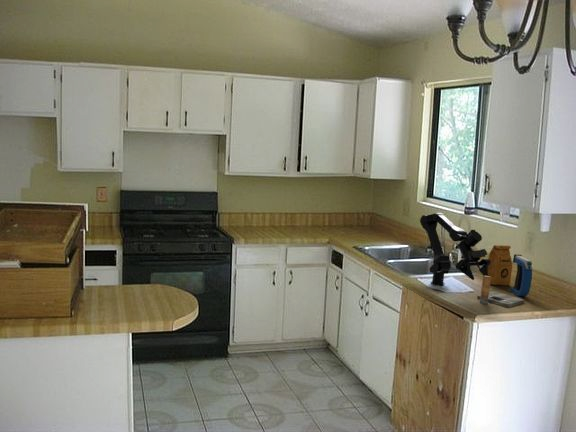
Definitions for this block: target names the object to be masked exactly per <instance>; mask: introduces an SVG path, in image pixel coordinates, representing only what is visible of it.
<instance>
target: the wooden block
mask: <svg viewBox="0 0 576 432" xmlns="http://www.w3.org/2000/svg"><path fill="white" fill-rule="evenodd" d="M490 283H491V277H490V276H483V275H482V283H481V290H480V295H481V297H480V299H479V303H480V304H482V305H488V303H489V302H488V297H489V293H490V288H491V284H490Z"/></svg>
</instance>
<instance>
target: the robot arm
mask: <svg viewBox="0 0 576 432" xmlns="http://www.w3.org/2000/svg"><path fill="white" fill-rule="evenodd" d="M419 223H420V226H421V227H422V228H423V230H425V232H426V234H427V236H428V241H429V242H430V243H429V244H430V246H431V250H432V252H433V260H432V261H433V262H432V263H433V264H432V265H431V266H430V267H429V272H430V273H431V274H432V280H431V282H430V285H434V286H440V287H443V286H445V282H444V280H445V274H449V273H450V270H451V266H452V264H451V263H452V261H451V259H450V256H449V255H446V254H445V253H444V250H443V247H442V244H441V241H440V238H439V235H438V231H437V226H438V224H439V225H440V226H441V227H442V228H443V229H444V230H445V231H446V232H448V236H449V237H450V239H451V240H452V241H453V242H457V243H456V244H455V247H454V249H455V250H459V251H460V254H461V257H460V258H461V259H460V260H459V261H458V262H456V264H455V269H456V271H459V272H461V273H463V274H464V275H465V276H466V277H468V278H469V279H470V280H472V281H474V280H475V276H474V274H473V272H472V270H471V267H477V268H478V271H479V273H481V274H482V277H483V276H488V266H489V265H490V264H491V261H490V259H488V258H485V257H486V256H487V255H488V252H487V250H486V248H482V249H479V250H473V247H475V246H476V245H477V244H479V243H480V242H481V241H482V240H483V236H482V235H481V233H479V232H478V231H476V229H470V231H469V232H468V231H466V230H464V229H463V228H461V227H458V226H456V225H455V224H454V223H453V222H452V221H451V220H450V219H448V217H446V216H445V214H444V213H442V212H435V213H431V214H422V215H421V217H420V219H419ZM481 258H482V259H481Z"/></svg>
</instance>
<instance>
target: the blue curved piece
mask: <svg viewBox="0 0 576 432" xmlns="http://www.w3.org/2000/svg"><path fill="white" fill-rule="evenodd" d="M512 264H516V267H517V268H516V274H515V280H514V286H510V290H509V291H510V292H511V293H512V294H514V295H515V296H517V297H527V296H528V295H529V293H530V292H531V291H530V290H531V287H532V286H531V285H532V279H533V265H532V264H533V263H532V260H529V259H527V258H526V257H524V256H523V255H522V254H517V253H515V254H513V259H512Z"/></svg>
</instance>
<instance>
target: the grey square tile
mask: <svg viewBox="0 0 576 432" xmlns="http://www.w3.org/2000/svg"><path fill="white" fill-rule="evenodd" d="M480 297H481V294H478V295H477V296H476V298H477V300H480ZM488 303H490V304H493V305H494V304H495V305H498V306H501V307H504V308H511V307H515V306H518V305H522V304H524V303H525V299H524V298H520V297H516V296H512V295H509V294H505V293H501V292H498V291H489V297H488Z"/></svg>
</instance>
